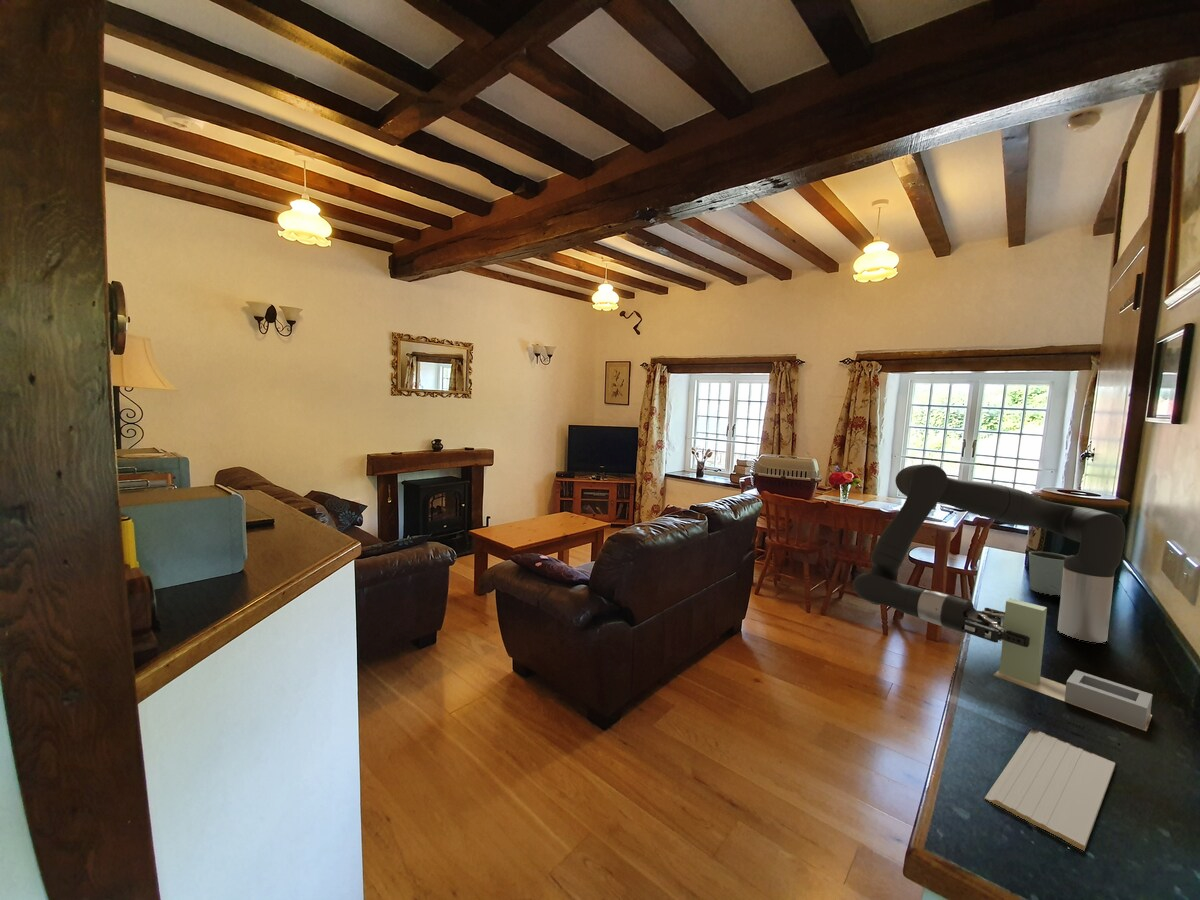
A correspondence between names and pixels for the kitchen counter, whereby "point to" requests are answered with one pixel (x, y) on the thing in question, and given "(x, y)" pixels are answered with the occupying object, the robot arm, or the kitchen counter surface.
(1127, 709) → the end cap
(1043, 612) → the slat
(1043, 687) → the board
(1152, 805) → the kitchen counter surface
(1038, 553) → the grey-green pot
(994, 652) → the kitchen counter surface
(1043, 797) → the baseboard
